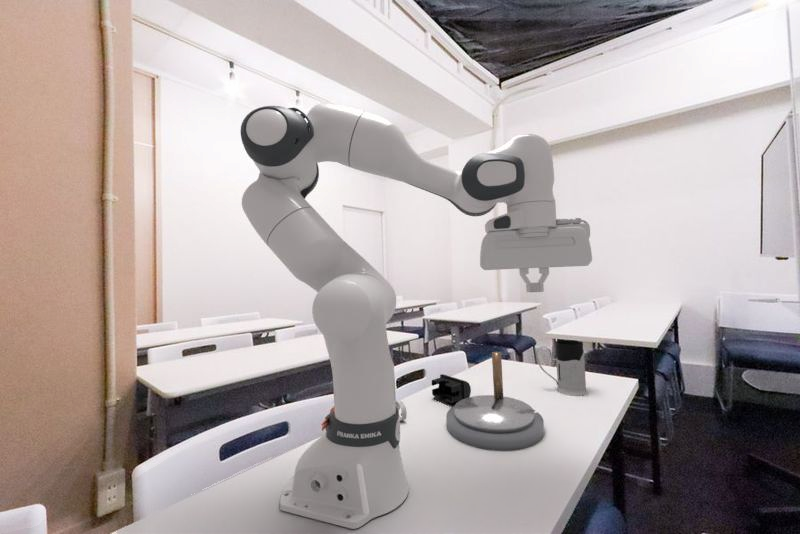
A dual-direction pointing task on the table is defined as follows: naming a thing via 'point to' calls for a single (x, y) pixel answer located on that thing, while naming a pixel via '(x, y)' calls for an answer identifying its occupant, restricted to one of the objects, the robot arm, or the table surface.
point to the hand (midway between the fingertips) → (534, 292)
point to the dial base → (496, 434)
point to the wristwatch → (401, 405)
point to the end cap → (450, 390)
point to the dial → (494, 408)
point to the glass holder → (569, 367)
